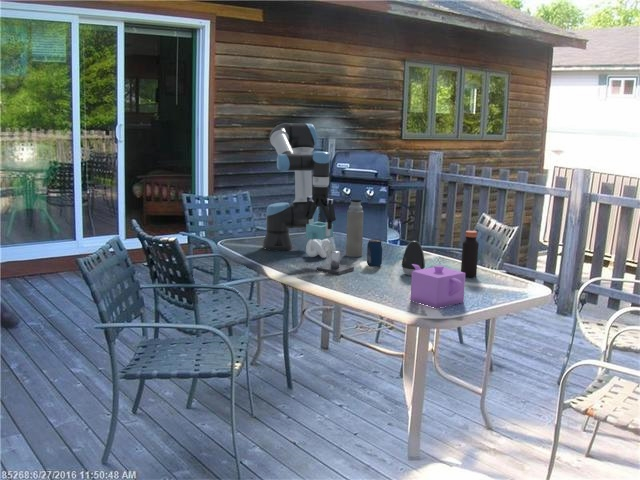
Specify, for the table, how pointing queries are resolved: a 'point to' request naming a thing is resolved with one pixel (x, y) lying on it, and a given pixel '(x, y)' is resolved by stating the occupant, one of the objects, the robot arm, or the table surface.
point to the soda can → (374, 253)
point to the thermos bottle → (354, 229)
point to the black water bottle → (470, 254)
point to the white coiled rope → (317, 247)
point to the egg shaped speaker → (413, 257)
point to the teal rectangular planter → (317, 231)
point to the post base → (335, 270)
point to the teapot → (437, 286)
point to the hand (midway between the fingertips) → (319, 234)
